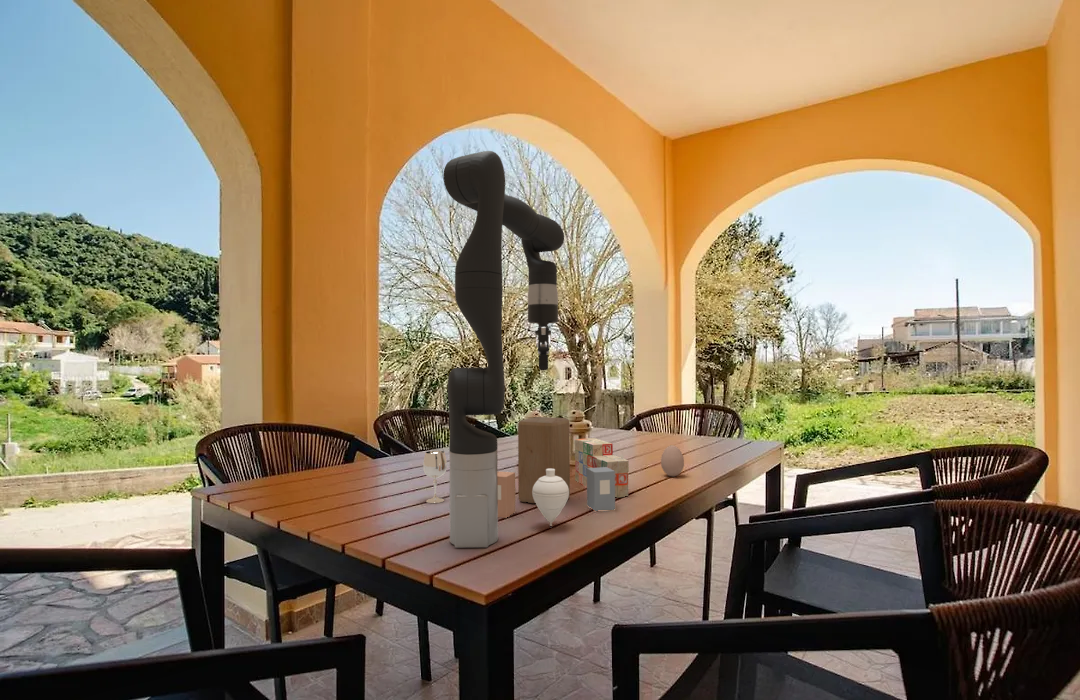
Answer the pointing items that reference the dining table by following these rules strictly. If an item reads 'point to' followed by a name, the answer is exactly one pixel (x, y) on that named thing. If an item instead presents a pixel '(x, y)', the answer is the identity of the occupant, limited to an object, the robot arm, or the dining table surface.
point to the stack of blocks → (600, 462)
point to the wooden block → (542, 452)
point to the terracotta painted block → (506, 493)
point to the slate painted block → (601, 488)
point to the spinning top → (550, 495)
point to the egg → (672, 461)
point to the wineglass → (435, 469)
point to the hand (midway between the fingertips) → (543, 369)
